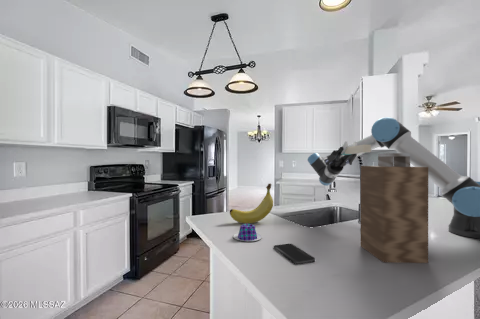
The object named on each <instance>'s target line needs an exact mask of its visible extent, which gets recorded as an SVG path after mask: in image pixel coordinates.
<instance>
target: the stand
mask: <svg viewBox="0 0 480 319" xmlns="http://www.w3.org/2000/svg"><path fill="white" fill-rule="evenodd" d="M377 156H378V157H377V165H360V248H362V249H364V250H366V251H367V252H368V253H370V255H371V256H372V255H373V256H374V257H375V258H376V259H378V260H379V261H381V262H382V263H396V264H397V263H399V264H400V263H401V264H403V263H404V264H405V263H406V264H407V263H409V264H410V263H411V264H412V263H413V264H414V263H416V264H425V263H426V264H428V263H429V178H428V167H415V166H411V163H410V153H398V152H390V153H389V152H387V153H384V152H383V153H377Z"/></svg>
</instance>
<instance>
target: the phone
mask: <svg viewBox="0 0 480 319" xmlns="http://www.w3.org/2000/svg"><path fill="white" fill-rule="evenodd" d="M273 250H275V251H276V252H277V253H279V254H280V255H281V256H283V257H284V258H285V259H286V260H288V262H290V263H292V264H293V265H296V266H298V265H304V264H310V263H311V264H312V263H315V261H316V258H315V256H312V255H311V254H309V253H307V252H306V251H304V250H302V249H301V248H299V247H298V246H296V245H294V243H282V244H276V245H275V244H274V245H273Z"/></svg>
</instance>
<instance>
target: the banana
mask: <svg viewBox="0 0 480 319" xmlns="http://www.w3.org/2000/svg"><path fill="white" fill-rule="evenodd" d="M265 188H266V194H265V196H264V197H263V199H262V200H261V202H260V203H259V205H258V206H256V207H255V208H253V209H251V210H247V211H246V210H244V211H243V210H240V209H235V208H232V209H230V210H229V215H230V217H231V218H232V219H233V220H234V221H235V222H237V223H241V224H255V223H258V222H260V221H262V220H264V218H266V217H267V216H268V215H269V214H270V213H271V211H272V210H273V207H274V199H273V197H272V194H271V189H272V183H267V186H266V187H265Z"/></svg>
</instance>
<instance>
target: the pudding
mask: <svg viewBox="0 0 480 319" xmlns="http://www.w3.org/2000/svg"><path fill="white" fill-rule="evenodd" d="M232 237H233V238H234V239H235V240H237V241H242V242H255V241H259V240H261V239H262V238H263V235H262V234H260V233H258V232H257V230H256V225H254V224H253V223H242V224H241V225H240V226H239V232H237V233H234V234H233V236H232Z"/></svg>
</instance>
